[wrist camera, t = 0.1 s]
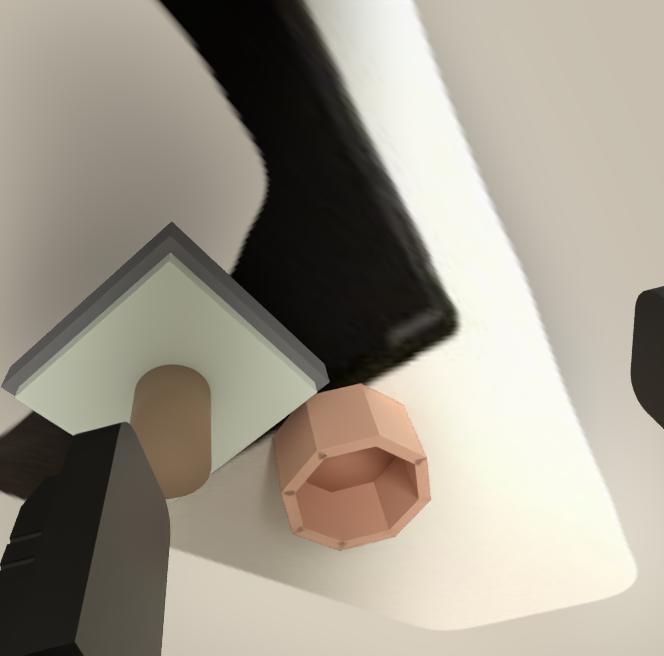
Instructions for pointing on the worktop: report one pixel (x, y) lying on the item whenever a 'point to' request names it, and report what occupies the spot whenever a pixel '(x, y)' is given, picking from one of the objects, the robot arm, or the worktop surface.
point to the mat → (131, 273)
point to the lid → (171, 377)
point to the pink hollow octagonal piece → (350, 468)
